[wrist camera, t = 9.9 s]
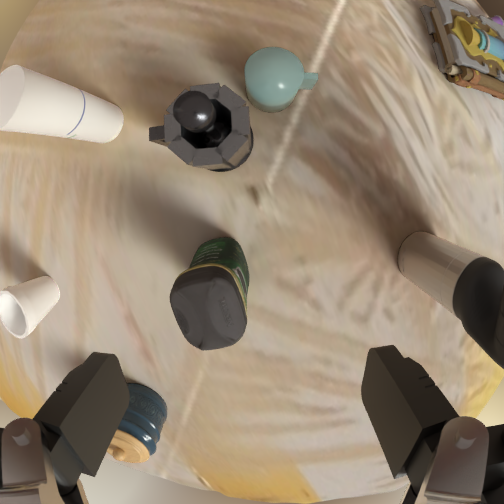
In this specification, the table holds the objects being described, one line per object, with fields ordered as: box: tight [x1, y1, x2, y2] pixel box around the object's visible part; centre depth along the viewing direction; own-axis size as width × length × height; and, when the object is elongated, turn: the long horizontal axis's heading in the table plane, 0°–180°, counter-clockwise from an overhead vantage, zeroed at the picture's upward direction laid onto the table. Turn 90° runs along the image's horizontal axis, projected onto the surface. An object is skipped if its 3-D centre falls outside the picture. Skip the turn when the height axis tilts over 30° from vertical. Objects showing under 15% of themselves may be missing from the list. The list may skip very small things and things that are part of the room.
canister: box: [107, 383, 167, 463], centre depth 47 cm, size 13×13×18 cm
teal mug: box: [245, 47, 318, 113], centre depth 36 cm, size 10×8×9 cm
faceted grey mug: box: [149, 83, 253, 172], centre depth 35 cm, size 12×10×15 cm
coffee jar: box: [170, 237, 249, 350], centre depth 38 cm, size 10×8×19 cm
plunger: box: [173, 91, 231, 148], centre depth 29 cm, size 4×4×18 cm
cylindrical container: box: [0, 65, 124, 143], centre depth 29 cm, size 7×7×25 cm
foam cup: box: [0, 276, 60, 339], centre depth 43 cm, size 10×9×13 cm
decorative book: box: [420, 0, 504, 100], centre depth 30 cm, size 25×26×11 cm
